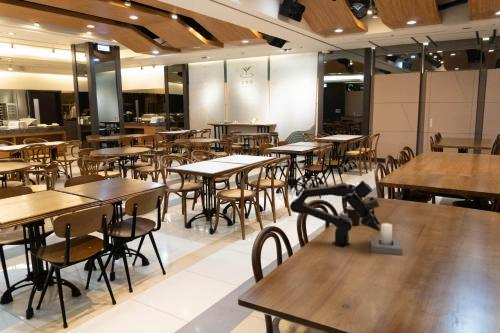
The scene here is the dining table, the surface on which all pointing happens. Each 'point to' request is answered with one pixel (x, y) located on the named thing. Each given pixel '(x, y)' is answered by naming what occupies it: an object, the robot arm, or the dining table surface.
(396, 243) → the collar block
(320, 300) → the dining table surface
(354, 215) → the coffee mug
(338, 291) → the dining table surface
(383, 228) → the peg
